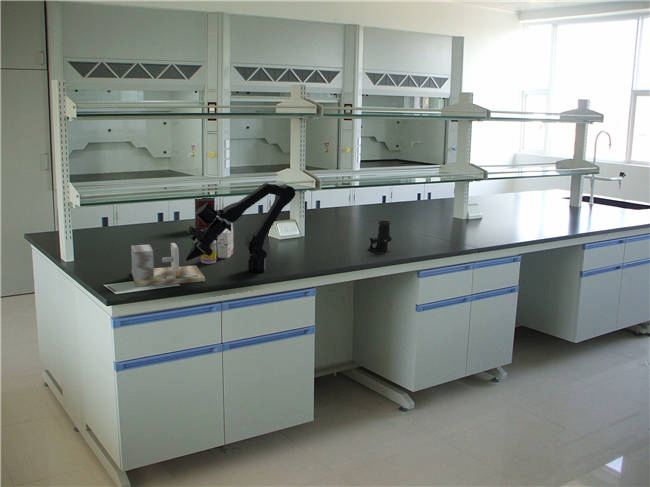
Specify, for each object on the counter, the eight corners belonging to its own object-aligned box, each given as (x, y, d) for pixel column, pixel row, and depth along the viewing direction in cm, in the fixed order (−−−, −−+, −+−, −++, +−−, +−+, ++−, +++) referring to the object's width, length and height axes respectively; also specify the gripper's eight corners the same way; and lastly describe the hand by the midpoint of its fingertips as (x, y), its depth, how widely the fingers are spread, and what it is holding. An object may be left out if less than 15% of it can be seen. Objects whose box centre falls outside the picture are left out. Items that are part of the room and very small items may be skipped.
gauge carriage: (175, 269, 262) (174, 242, 260) (181, 278, 250) (180, 250, 248) (161, 270, 260) (160, 243, 258) (166, 279, 248) (165, 251, 245)
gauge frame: (195, 268, 270) (195, 239, 268) (205, 281, 253) (204, 250, 250) (131, 273, 261) (130, 243, 258) (136, 286, 244) (135, 254, 241)
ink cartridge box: (223, 253, 297) (223, 222, 294) (233, 254, 297) (233, 222, 293) (217, 257, 289) (216, 225, 286) (227, 258, 288) (227, 226, 285)
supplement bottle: (197, 262, 281) (197, 233, 278) (208, 259, 286) (207, 231, 283) (208, 265, 277) (208, 235, 274) (219, 262, 282) (219, 233, 279)
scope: (370, 220, 314) (390, 220, 316) (368, 247, 317) (388, 247, 319) (374, 223, 306) (394, 223, 308) (372, 251, 309) (393, 251, 311)
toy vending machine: (211, 227, 352) (210, 176, 346) (215, 231, 342) (214, 179, 336) (194, 228, 349) (193, 176, 343) (198, 232, 339) (197, 179, 332)
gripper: (194, 214, 265) (167, 241, 263) (203, 222, 248) (175, 252, 247) (213, 231, 270) (187, 259, 268) (224, 241, 253) (196, 270, 251)
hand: (186, 259), depth 258 cm, fingers closed
